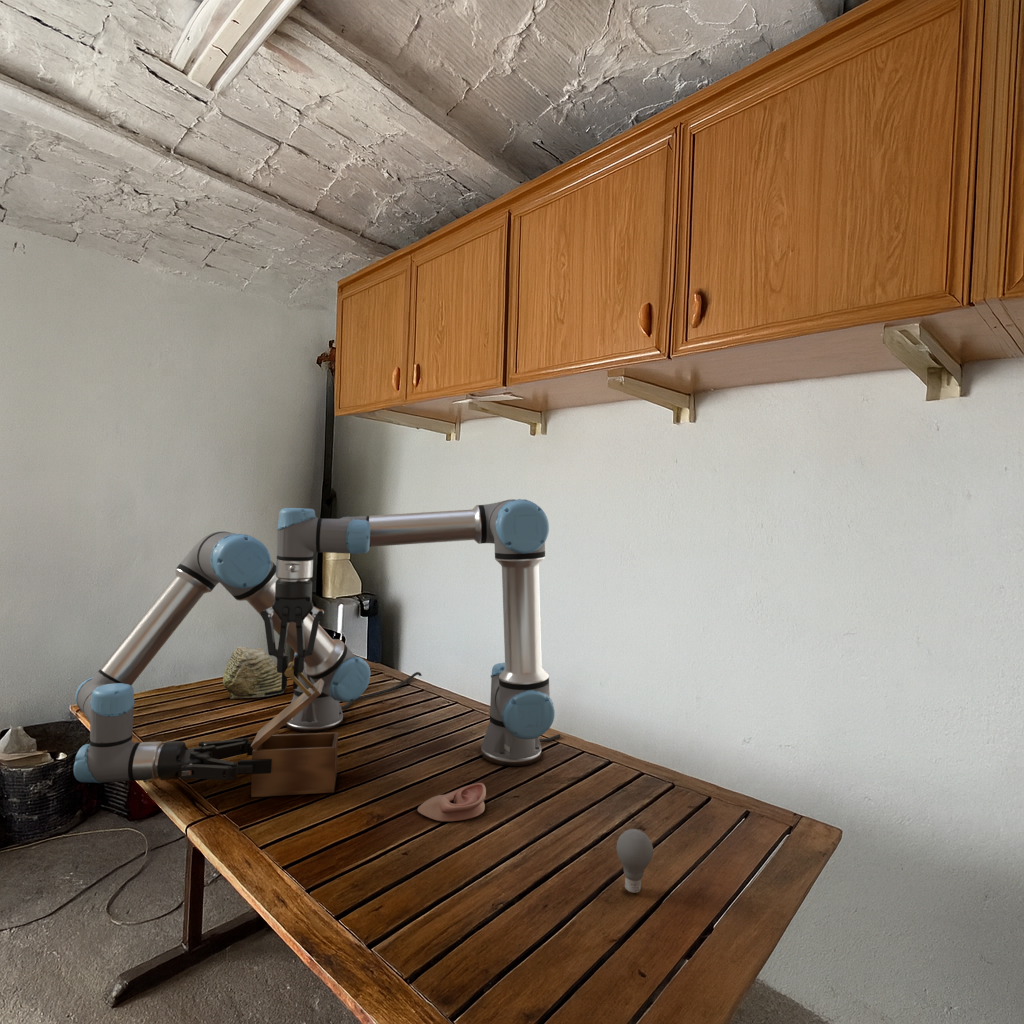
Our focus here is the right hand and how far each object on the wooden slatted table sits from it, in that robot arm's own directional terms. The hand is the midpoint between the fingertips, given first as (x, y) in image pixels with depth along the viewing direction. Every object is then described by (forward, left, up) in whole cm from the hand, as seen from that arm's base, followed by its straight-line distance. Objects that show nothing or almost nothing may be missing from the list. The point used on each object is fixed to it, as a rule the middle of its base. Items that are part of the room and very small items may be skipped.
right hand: (289, 687), depth 138 cm
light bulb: (-49, +59, -22) cm, 80 cm away
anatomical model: (-30, +22, -22) cm, 43 cm away
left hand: (+2, -1, -15) cm, 15 cm away
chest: (-2, 0, -22) cm, 22 cm away
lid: (0, 0, -6) cm, 6 cm away
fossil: (+3, -68, -22) cm, 71 cm away
